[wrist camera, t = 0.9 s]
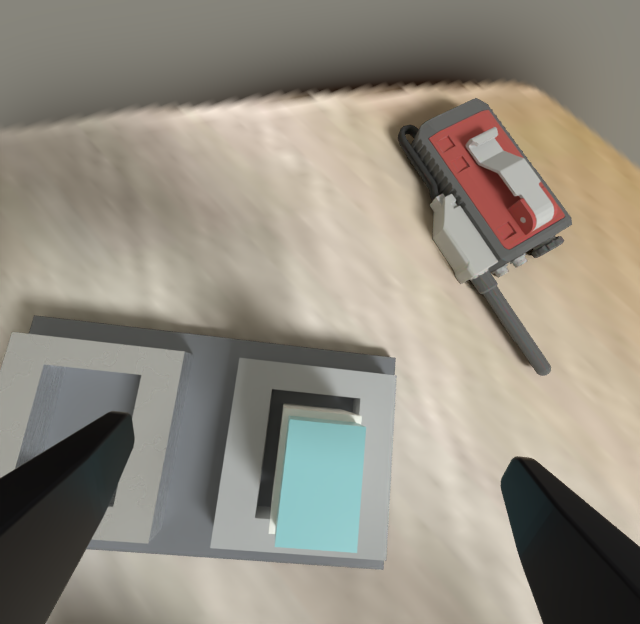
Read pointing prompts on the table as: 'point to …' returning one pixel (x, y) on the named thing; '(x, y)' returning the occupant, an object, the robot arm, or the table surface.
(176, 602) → the table surface
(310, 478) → the plug
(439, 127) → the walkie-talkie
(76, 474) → the robot arm
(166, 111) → the table surface
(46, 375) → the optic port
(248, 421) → the grey square socket frame
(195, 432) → the station board
